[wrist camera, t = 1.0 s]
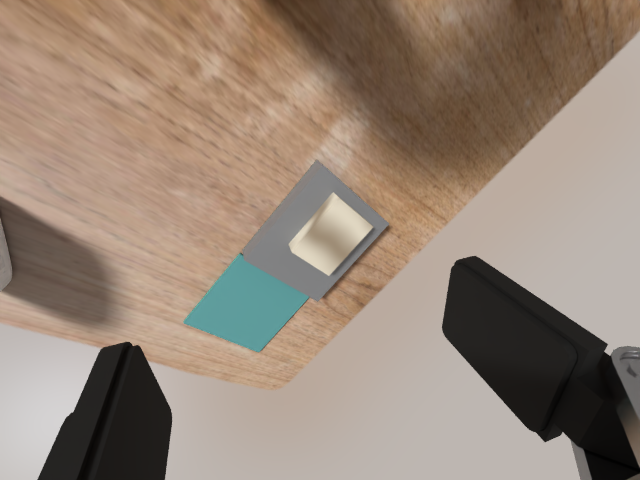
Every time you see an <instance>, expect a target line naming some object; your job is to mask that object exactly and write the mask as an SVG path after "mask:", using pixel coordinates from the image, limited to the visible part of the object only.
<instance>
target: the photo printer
mask: <svg viewBox="0 0 640 480" xmlns="http://www.w3.org/2000/svg"><path fill="white" fill-rule="evenodd" d="M11 279H12V266H11V261H10V256H9V251H8V247H7V243H6V238H5V234H4V231H3V226H2V223H1V218H0V292H1V290H2V289H4V288H5V287H6V286H7V285H8V284H9V282H10V281H11Z"/></svg>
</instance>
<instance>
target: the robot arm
mask: <svg viewBox="0 0 640 480" xmlns="http://www.w3.org/2000/svg"><path fill="white" fill-rule="evenodd" d="M442 330H443V333H444V335H445V337H446V338H447V339H448V340H449V342H450V343H451V344H452V345H453V346H454V347H455V348H456V349H457V350H458V352H459V353H460V354H461V355H462V356H463V357H464V358H465V359H466V361H467V362H468V363H469V364H470V365H471V366H472V367H473V368H474V369H475V370H476V371H477V373H478V374H479V375H480V376H481V377H482V378H483V379H484V380H485V381H486V383H487V384H488V385H489V386H490V387H491V388H492V389H493V391H494V392H495V393H496V394H497V395H498V396H499V397H500V398H501V399H502V400H503V402H504V403H505V404H506V405H507V406H508V407H509V408H510V409H511V411H512V412H513V413H514V414H515V415H516V416H517V417H518V418H519V419H520V420H521V422H522V423H523V424H524V425H525V426H526V427H527V428H528V429H529V430H531V431H533V432H536V433H537V434H538V435H539V436H540V437H541V438H542V439H543V441H544V442H547V441H549V440H551V439H553V438H556V437H558V436H560V435H561V434H562V432H564V433H565V434H566V435H567V436H568V437H569V438H570V440H571V443H572V448H573V451H574V455H575V459H576V463H577V467H578V471H579V475H580V479H581V480H640V348H639V347H631V346H625V347H619V348H617V349H615V350H613V352H612V354H611V356H609V355H608V354H606V353H605V352H604V350H605V349H606V347H607V345H608V344H607V343H605V342H604V341H602V340H601V339H599V338H598V337H596V336H595V335H593V334H592V333H590V332H589V331H587V330H586V329H584V328H583V327H581V326H580V325H578V324H577V323H575V322H574V321H572V320H571V319H569V318H568V317H566V316H565V315H563V314H562V313H560V312H559V311H557V310H556V309H555V308H553V307H551V306H550V305H549V304H547V303H546V302H544V301H542V300H541V299H540V298H538V297H537V296H535V295H534V294H532V293H531V292H529V291H528V290H526V289H525V288H523V287H522V286H520V285H519V284H517V283H516V282H514V281H513V280H511V279H510V278H508V277H507V276H505V275H504V274H502V273H501V272H499V271H498V270H496V269H495V268H493V267H492V266H490V265H489V264H487V263H486V262H484V261H483V260H481V259H480V258H478V257H476V256H472V257H467V258H463V259H459V260H457V261H456V262H455V264H454V266H453V267H452V268H451V273H450V280H449V286H448V292H447V299H446V305H445V312H444V318H443V324H442ZM171 427H172V413H171V409H170V407H169V405H168V403H167V401H166V398H165V396H164V394H163V392H162V390H161V388H160V386H159V384H158V382H157V380H156V378H155V376H154V374H153V372H152V370H151V368H150V366H149V364H148V362H147V360H146V358H145V355H144V353H143V351H142V349H141V348H140V346H139V345H136V346H133V345H132V344H131V343H130V342H124V343H120V344H116V345H112V346H108V347H104V348H102V349H101V350H100V352H99V354H98V356H97V359H96V361H95V363H94V366H93V368H92V370H91V373H90V375H89V377H88V380H87V382H86V384H85V387H84V389H83V391H82V393H81V396H80V398H79V400H78V403H77V405H76V407H75V410H74V412H73V413H71V414H70V415H69V416H68V417H67V418H66V419H65V421H64V423H63V424H62V426H61V428H60V431H59V433H58V435H57V437H56V440H55V442H54V444H53V446H52V449H51V451H50V453H49V455H48V457H47V460H46V462H45V464H44V467H43V469H42V471H41V473H40V475H39V478H38V480H165V474H166V466H167V457H168V450H169V441H170V434H171Z"/></svg>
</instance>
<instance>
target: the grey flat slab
mask: <svg viewBox="0 0 640 480" xmlns="http://www.w3.org/2000/svg"><path fill="white" fill-rule="evenodd" d="M333 192H334V193H335V194H336V195H337V196H338V197H340V198H341V199H342V200H343V201H344V202H346V203H347V204H348V205H349V206H350V207H351V208H353V209H354V210H355V211H356V212H357V213H359V214H360V215H361V216H362V217H363V218H365V219H366V220H367V221H368V222H369V223H370V224H371V225H372V226H373V228H372V229H371V230H370V231H369V233H368V234H367V235H366V236H365V237H364V238H363V239H362V240H361V241H360V242H359V244H358V245H357V246H356V247H355V248H354V249H353V250H352V251H351V252H350V253H349V255H348V256H347V257H346V258H345V259H344V260H343V261H342V262H341V263H340V264H339V266H338V267H337V268H336V269H335V270H334V271H333V272H332V273H331V274H330V275H329V276H328V275H327V274H325V273H323V272H322V271H320V270H319V269H317V268H316V267H314V266H312V265H311V264H309V263H308V262H306V261H305V260H303V259H301V258H300V257H298V256H297V255H295V254H294V253H292V251H291V249H290V247H289V243H290V242H291V241H292V239H293V238H294V237H295V236H296V235H297V234H298V232H299V231H300V230H301V229H302V228H303V227H304V225H305V224H306V223H307V222H308V221H309V220H310V218H311V217H312V216H313V215H314V214H315V213H316V211H317V210H318V209H319V208H320V207H321V206H322V204H323V203H324V202H325V201H326V200H327V199H328V197H329V196H330V195H331V194H332V193H333ZM388 225H389V223H388V222H387V221H386V220H384V219H383V218H382V217H381V216H380V215H379V214H378V213H377V212H375V211H374V210H373V209H372V208H371V207H370V206H369V205H368V204H366V203H365V202H364V201H363V200H362V199H361V198H360V197H359V196H357V195H356V194H355V193H354V192H353V191H352V190H351V189H350V188H348V187H347V186H346V185H345V184H344V183H343V182H342V181H341V180H339V179H338V178H337V177H336V176H335V175H334V174H333V173H332V172H330V171H329V170H328V169H327V168H326V167H325V166H324V165H323V164H321V163H320V162H319V161H318V160H316V161H315V162H314V164H313V165H312V166H311V167H310V168H309V170H308V171H307V172H306V173H305V175H304V176H303V177H302V178H301V179H300V181H299V182H298V183H297V184H296V185H295V187H294V188H293V189H292V190H291V192H290V193H289V194H288V195H287V196H286V198H285V199H284V200H283V201H282V202H281V204H280V205H279V206H278V207H277V209H276V210H275V211H274V212H273V213H272V215H271V216H270V217H269V218H268V219H267V221H266V222H265V223H264V224H263V225H262V227H261V228H260V229H259V230H258V232H257V233H256V234H255V235H254V236H253V238H252V239H251V240H250V241H249V242H248V244H247V245H246V246H245V247H244V249H243V250H242V251H243V257H244V261H246V262H248V263H250V264H252V265H253V266H255V267H257V268H259V269H260V270H262V271H264V272H266V273H268V274H269V275H271V276H273V277H275V278H277V279H278V280H280V281H282V282H284V283H285V284H287V285H289V286H291V287H293V288H294V289H296V290H298V291H300V292H301V293H303V294H305V295H307V296H309V297H310V298H312V299H314V300H316V301H319V300H320V299H321V298H322V297H323V295H324V294H325V293H326V292H327V291H328V290H329V289H330V288H331V287H332V286H333V285H334V283H335V282H336V281H337V280H338V279H339V278H340V277H341V276H342V275H343V274H344V273H345V272H346V270H347V269H348V268H349V267H350V266H351V265H352V264H353V263H354V262H355V261H356V260H357V258H358V257H359V256H360V255H361V254H362V253H363V252H364V251H365V250H366V249H367V248H368V247H369V245H370V244H371V243H372V242H373V241H374V240H375V239H376V238H377V237H378V236H379V235H380V233H381V232H382V231H383V230H384V229H385V228H386V227H387V226H388Z"/></svg>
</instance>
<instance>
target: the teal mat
mask: <svg viewBox="0 0 640 480" xmlns="http://www.w3.org/2000/svg"><path fill="white" fill-rule="evenodd" d="M308 298H309V296H307V295H305V294H303V293H301V292H300V291H298V290H296V289H294V288H293V287H291V286H289V285H287V284H285V283H284V282H282V281H280V280H278V279H277V278H275V277H273V276H271V275H269V274H268V273H266V272H264V271H262V270H260V269H259V268H257V267H255V266H253V265H252V264H250V263H248V262H246V261H244V257H243V254H241V253H239V255H238V256H237V257H236V258H235V259H234V261H233V262H232V263H231V264H230V266H229V267H228V268H227V269H226V270H225V272H224V273H223V274H222V275H221V276H220V278H219V279H218V280H217V281H216V282H215V284H214V285H213V286H212V287H211V289H210V290H209V291H208V292H207V293H206V295H205V296H204V297H203V298H202V299H201V301H200V302H199V303H198V304H197V306H196V307H195V308H194V309H193V310H192V312H191V313H190V314H189V315H188V316H187V318H186V319H185V320H184V324H187V325H190V326H192V327H195V328H197V329H200V330H202V331H205V332H208V333H210V334H213V335H215V336H218V337H220V338H223V339H225V340H228V341H231V342H233V343H236V344H238V345H241V346H243V347H246V348H249V349H251V350H254V351H256V352H260V351H261V350H262V349H263V347H264V346H265V345H266V344H267V343H268V342H269V341H270V340H271V339H272V338H273V336H274V335H275V334H276V333H277V332H278V331H279V330H280V329H281V328H282V327H283V325H284V324H285V323H286V322H287V321H288V320H289V319H290V318H291V317H292V316H293V314H294V313H295V312H296V311H297V310H298V309H299V308H300V307H301V306H302V305H303V303H304V302H305V301H306V300H307V299H308Z"/></svg>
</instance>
